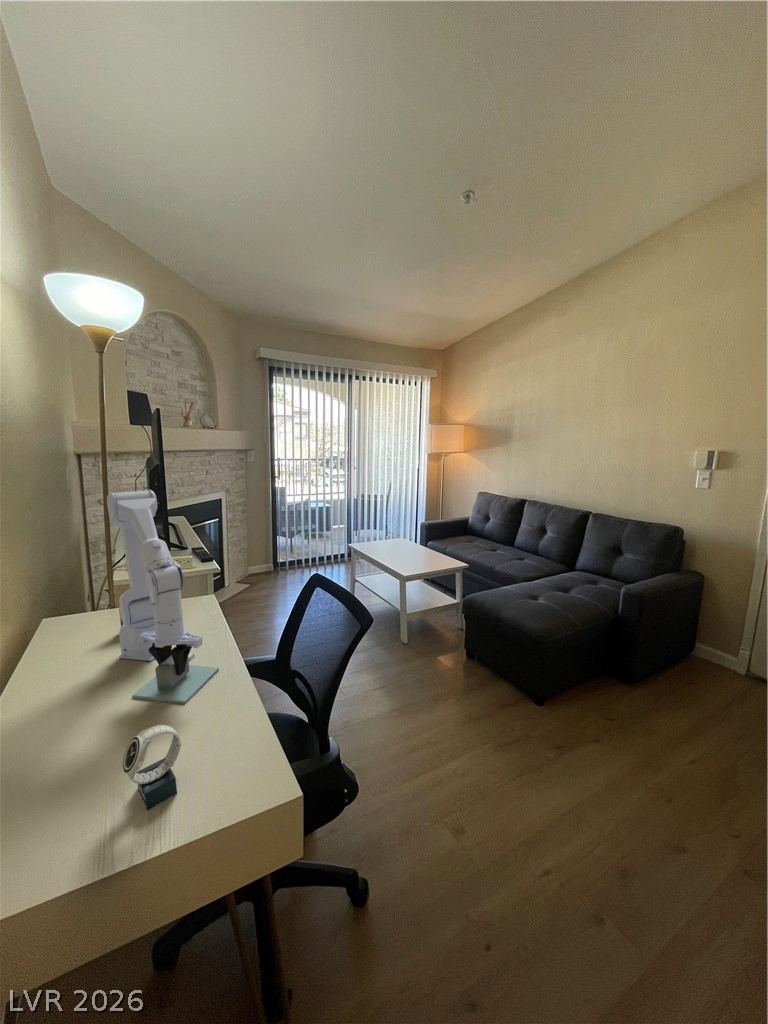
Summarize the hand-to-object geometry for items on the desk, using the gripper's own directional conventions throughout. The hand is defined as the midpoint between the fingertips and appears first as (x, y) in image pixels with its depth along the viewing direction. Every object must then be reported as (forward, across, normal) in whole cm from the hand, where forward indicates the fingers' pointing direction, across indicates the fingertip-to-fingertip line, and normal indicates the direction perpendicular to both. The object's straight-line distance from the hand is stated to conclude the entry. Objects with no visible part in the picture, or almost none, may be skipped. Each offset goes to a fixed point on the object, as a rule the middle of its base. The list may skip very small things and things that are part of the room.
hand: (174, 672), depth 91 cm
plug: (+2, 0, 0) cm, 2 cm away
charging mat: (+3, 0, +1) cm, 4 cm away
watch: (+4, +16, -26) cm, 31 cm away
